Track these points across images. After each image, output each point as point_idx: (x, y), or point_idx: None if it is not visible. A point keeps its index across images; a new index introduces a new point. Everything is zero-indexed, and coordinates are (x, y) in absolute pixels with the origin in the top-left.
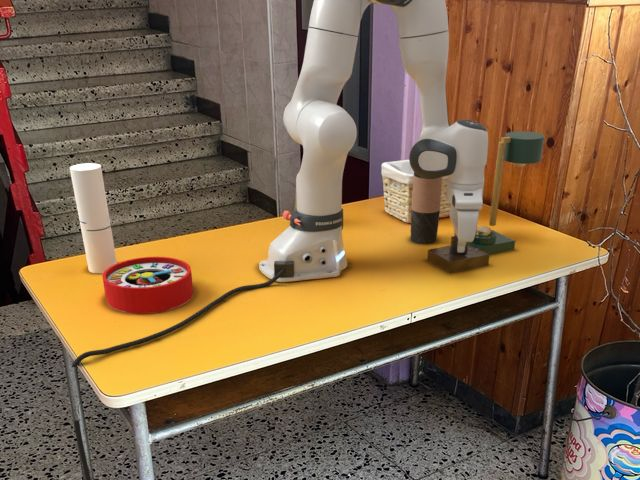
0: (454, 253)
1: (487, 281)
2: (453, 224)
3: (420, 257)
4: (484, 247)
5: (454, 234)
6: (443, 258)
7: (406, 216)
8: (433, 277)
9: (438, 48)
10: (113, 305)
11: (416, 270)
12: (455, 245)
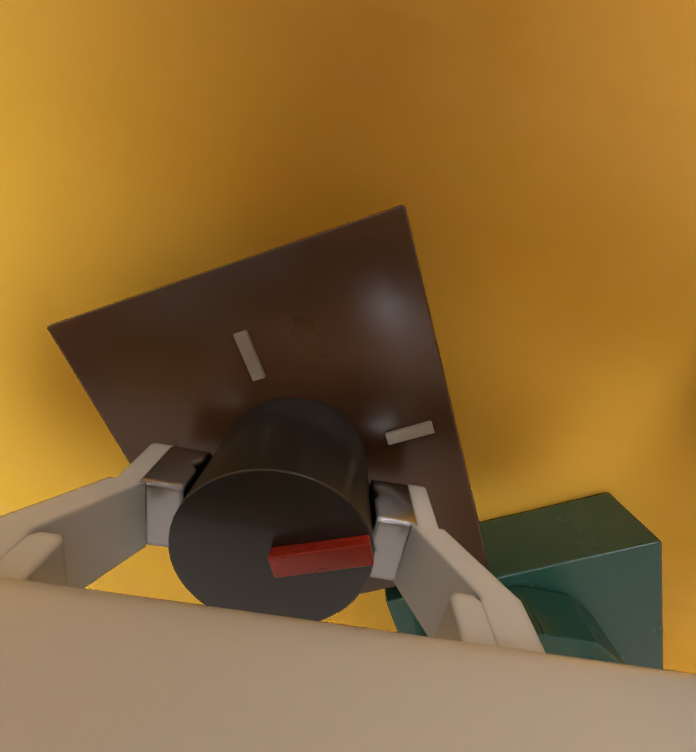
0: (240, 419)
1: (6, 488)
2: (291, 690)
3: (483, 183)
4: (397, 628)
5: (432, 541)
6: (141, 293)
7: None
8: (27, 161)
9: None
10: None
11: (182, 43)
12: (210, 462)
